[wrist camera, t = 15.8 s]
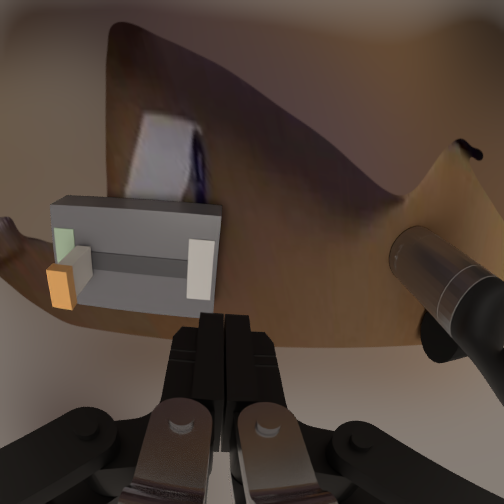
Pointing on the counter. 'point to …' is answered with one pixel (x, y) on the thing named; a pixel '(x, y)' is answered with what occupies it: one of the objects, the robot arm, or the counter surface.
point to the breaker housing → (142, 252)
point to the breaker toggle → (70, 277)
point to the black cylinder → (438, 341)
